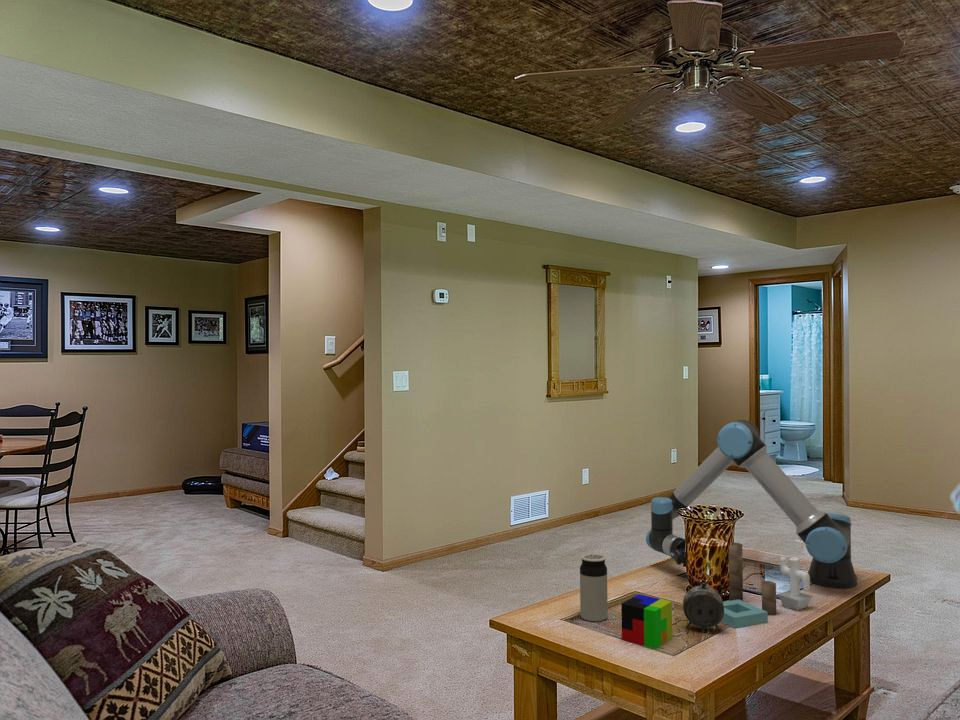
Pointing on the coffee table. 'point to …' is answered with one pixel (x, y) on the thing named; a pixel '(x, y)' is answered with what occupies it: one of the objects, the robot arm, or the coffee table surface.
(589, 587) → the travel mug
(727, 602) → the teal square frame
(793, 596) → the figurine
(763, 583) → the short dowel
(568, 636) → the coffee table surface
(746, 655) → the coffee table surface
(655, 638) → the puzzle toy
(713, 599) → the alarm clock
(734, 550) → the long dowel
